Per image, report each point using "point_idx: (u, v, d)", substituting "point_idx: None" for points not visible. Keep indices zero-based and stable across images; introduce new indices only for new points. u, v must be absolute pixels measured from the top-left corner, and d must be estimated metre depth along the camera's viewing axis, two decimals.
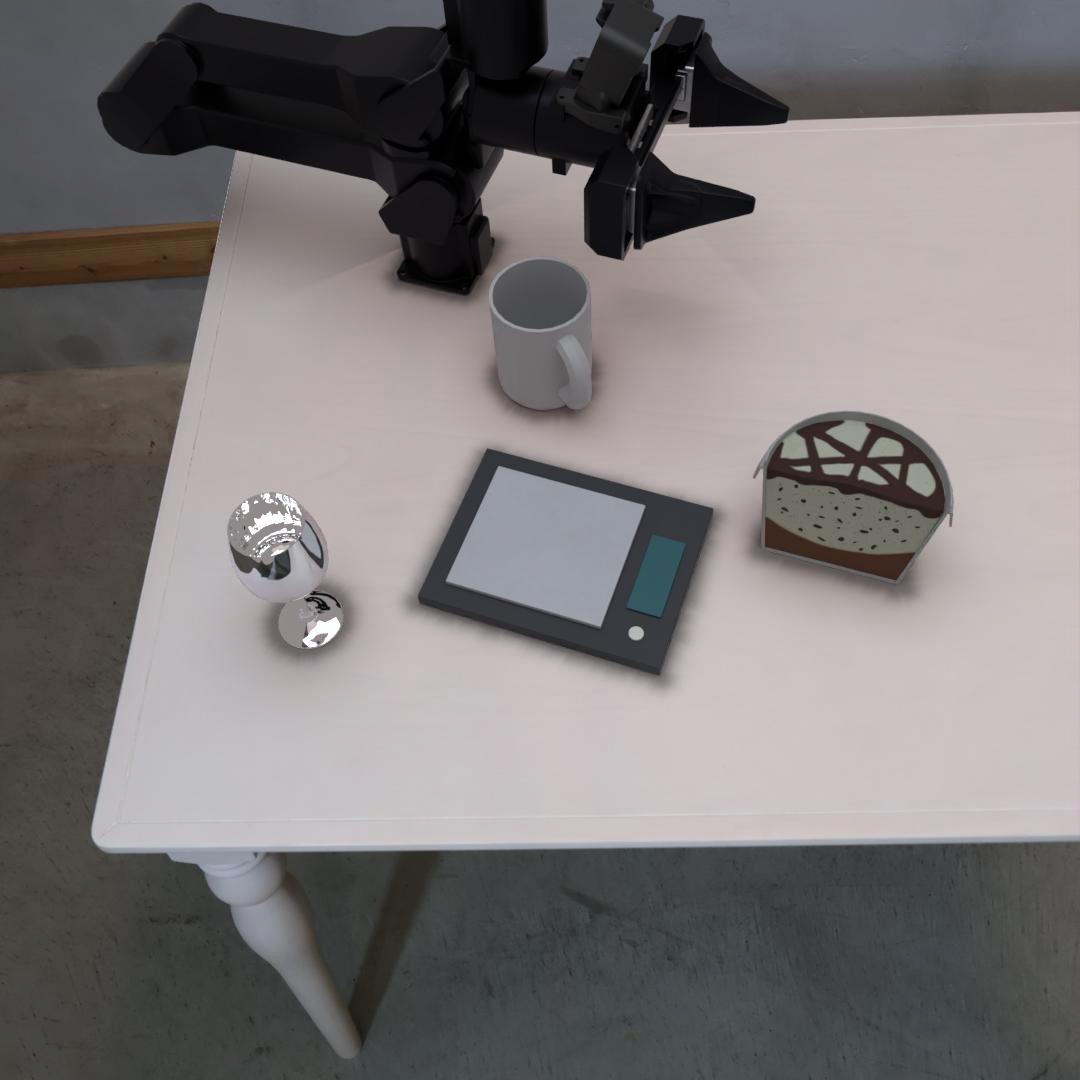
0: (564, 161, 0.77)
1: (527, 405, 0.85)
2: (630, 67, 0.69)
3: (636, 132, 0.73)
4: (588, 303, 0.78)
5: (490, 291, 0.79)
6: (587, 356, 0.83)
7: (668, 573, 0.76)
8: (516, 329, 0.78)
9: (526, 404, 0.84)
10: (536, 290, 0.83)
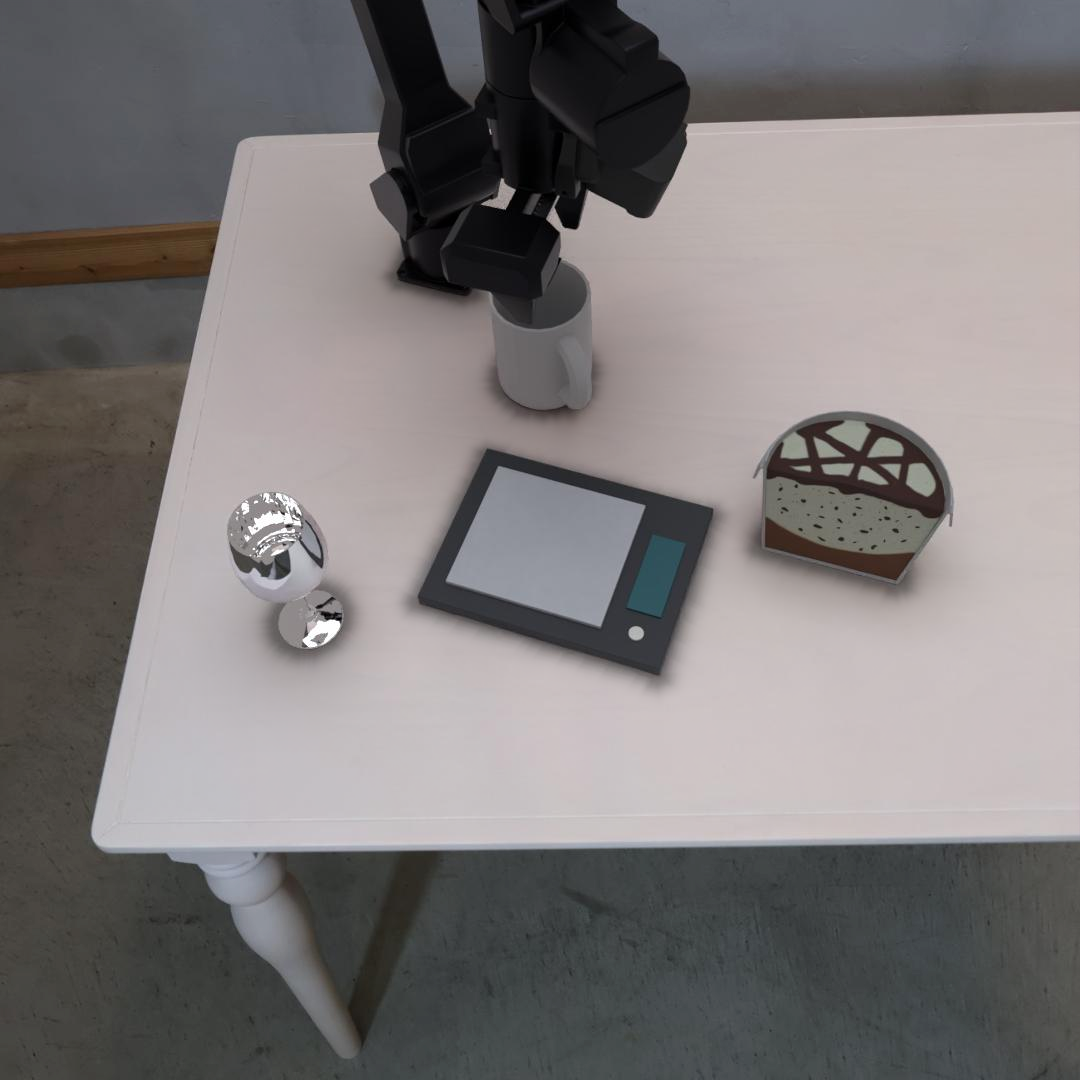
0: (495, 118, 0.63)
1: (527, 405, 0.85)
2: (634, 209, 0.65)
3: (557, 197, 0.67)
4: (588, 303, 0.78)
5: None
6: (587, 356, 0.83)
7: (668, 573, 0.76)
8: (516, 329, 0.78)
9: (526, 404, 0.84)
10: None
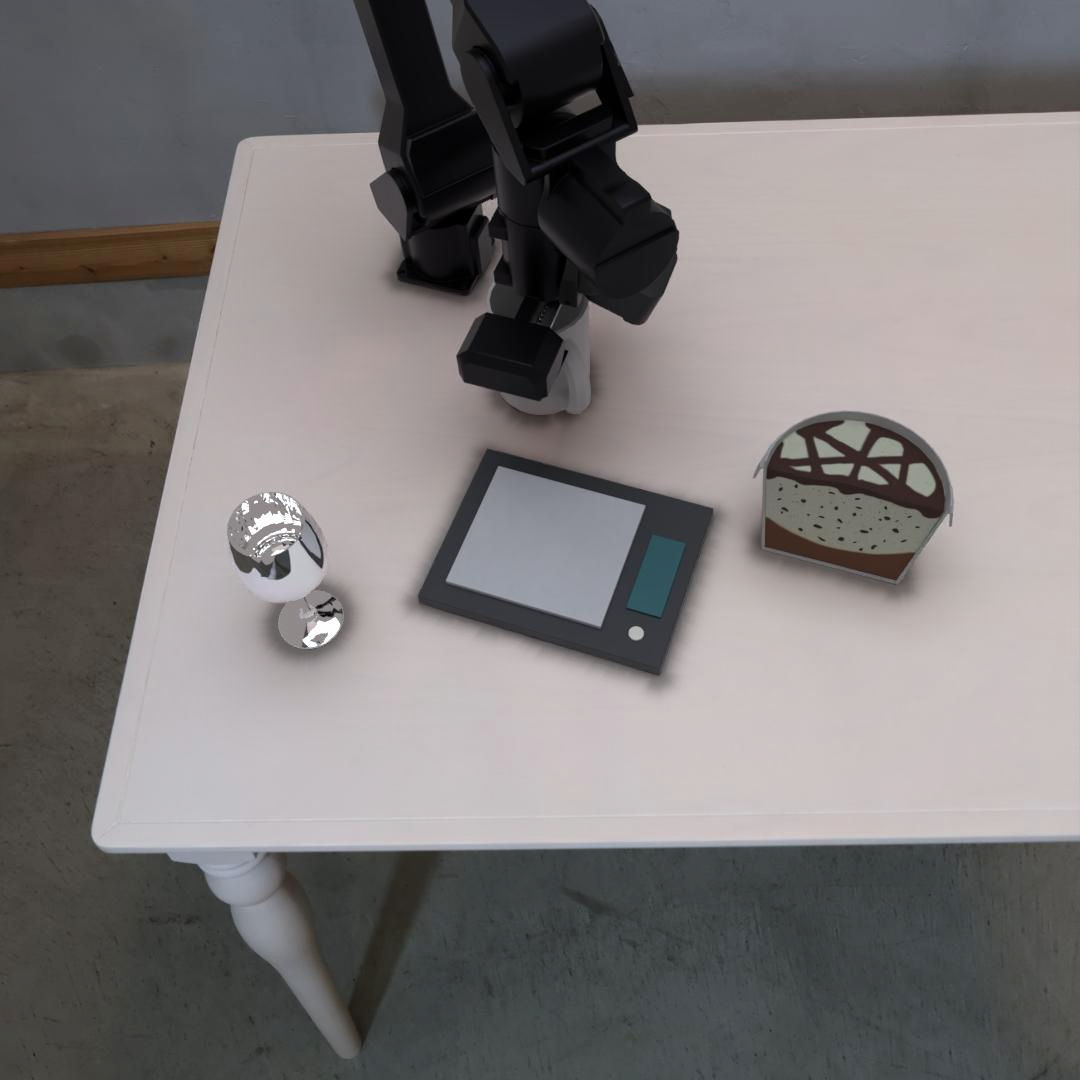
0: (506, 239, 0.71)
1: (525, 410, 0.84)
2: (630, 317, 0.73)
3: None
4: (586, 307, 0.78)
5: (487, 297, 0.79)
6: (585, 360, 0.82)
7: (668, 573, 0.76)
8: None
9: (524, 409, 0.84)
10: None
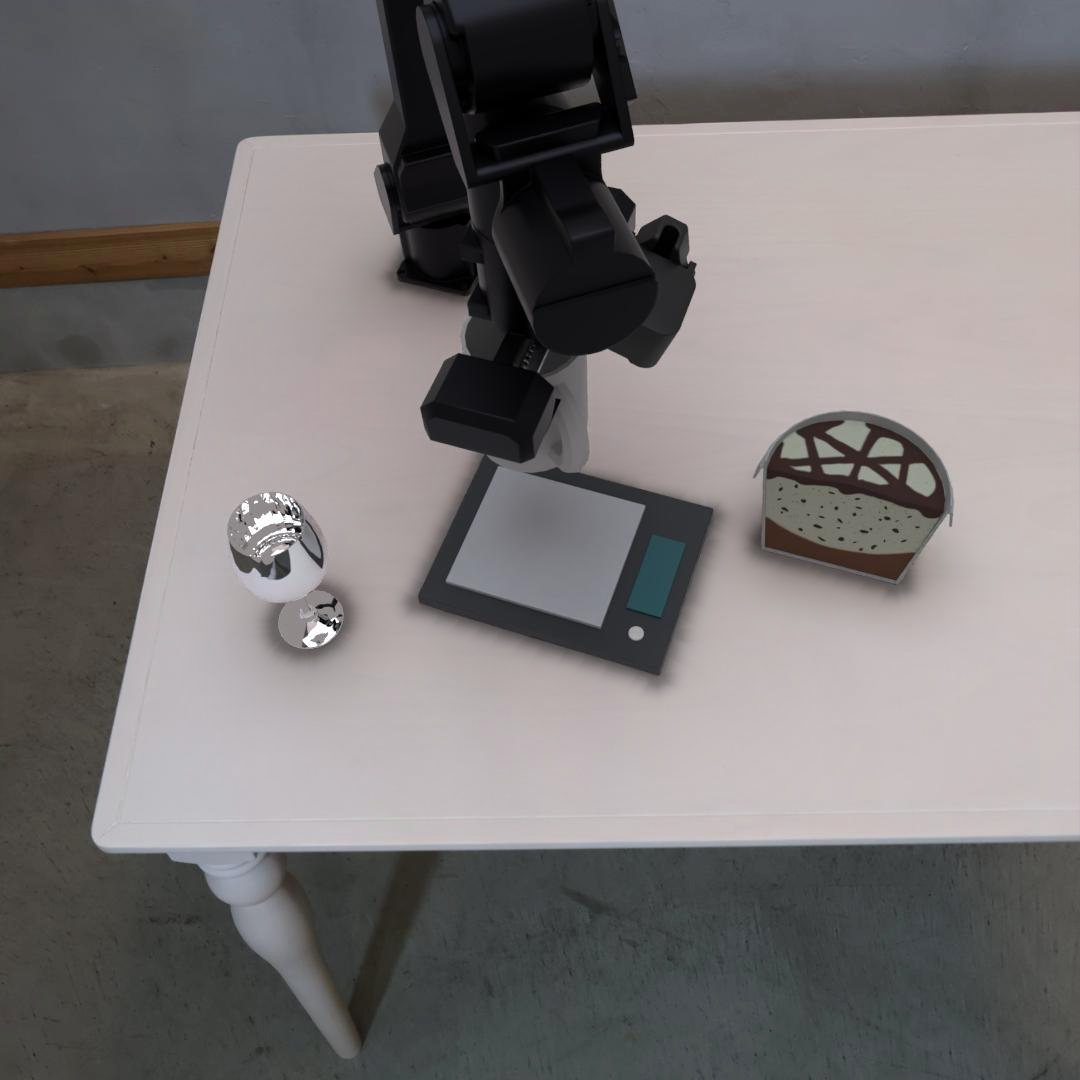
0: (482, 263, 0.57)
1: (510, 467, 0.70)
2: (637, 359, 0.59)
3: None
4: None
5: (462, 332, 0.65)
6: (582, 408, 0.68)
7: (668, 573, 0.76)
8: None
9: (509, 466, 0.70)
10: None
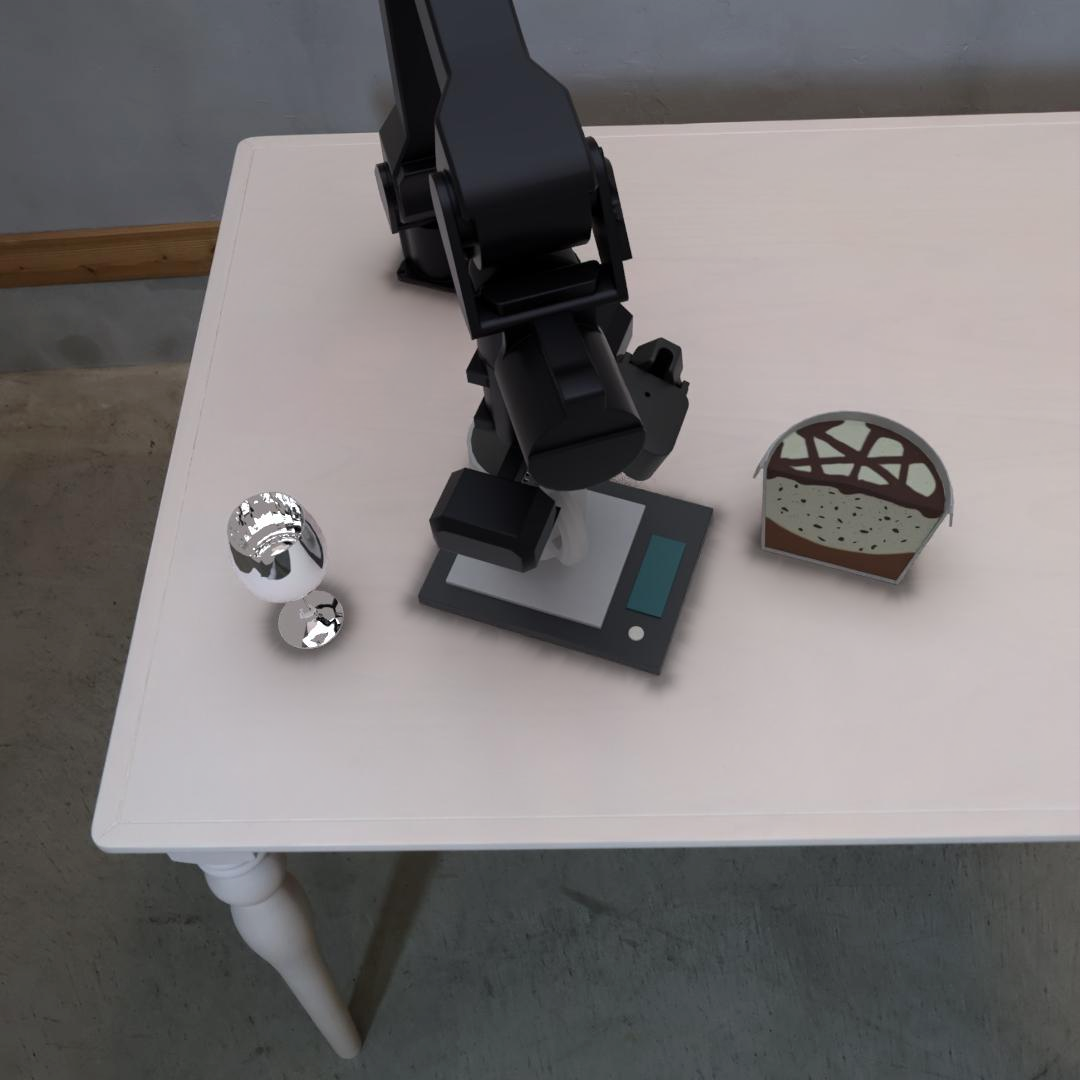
0: (488, 386, 0.60)
1: None
2: (633, 473, 0.63)
3: None
4: None
5: (468, 436, 0.68)
6: (581, 503, 0.72)
7: (668, 573, 0.76)
8: None
9: None
10: None
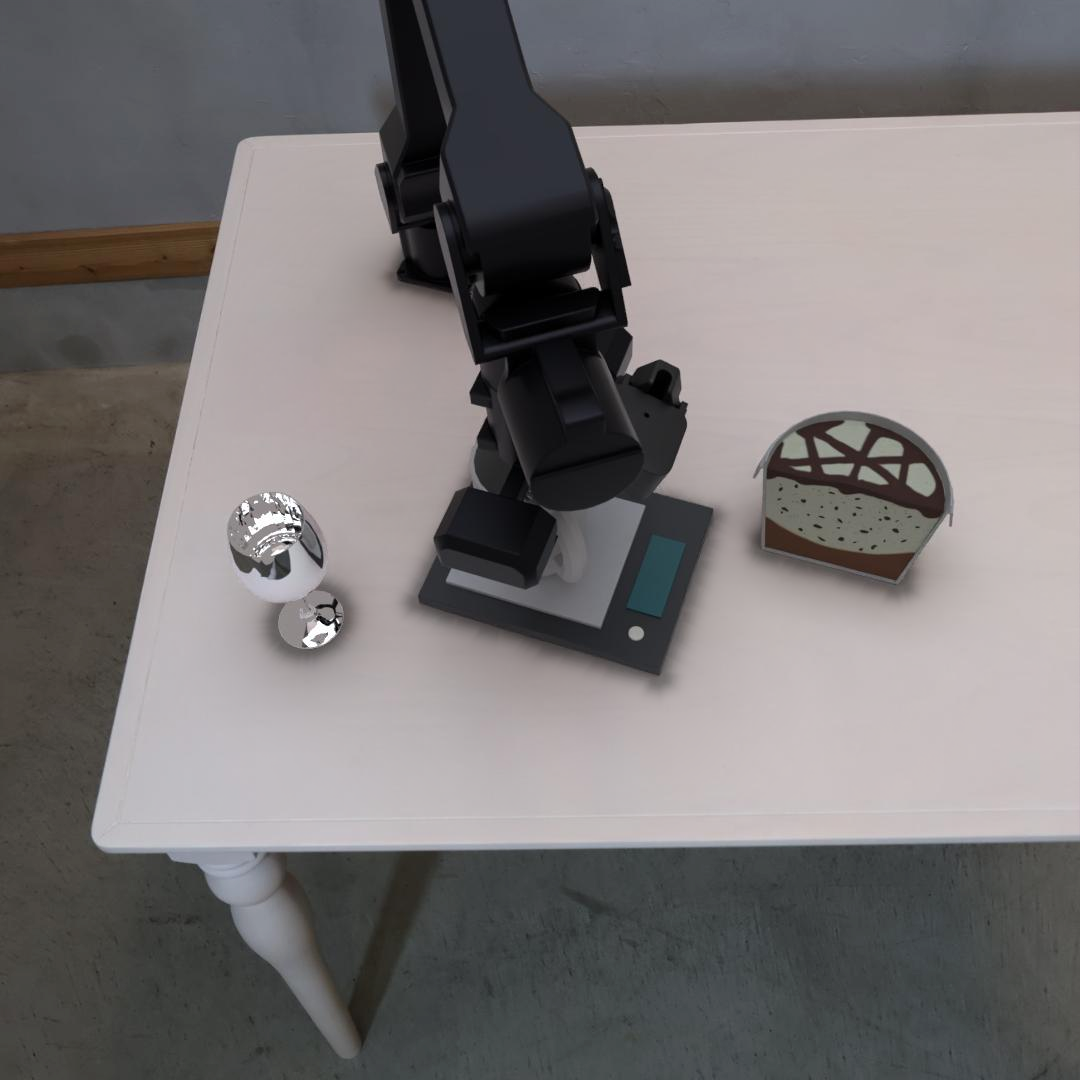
0: (491, 408, 0.62)
1: None
2: (632, 492, 0.64)
3: None
4: None
5: (471, 457, 0.70)
6: (582, 521, 0.73)
7: (668, 573, 0.76)
8: None
9: None
10: None
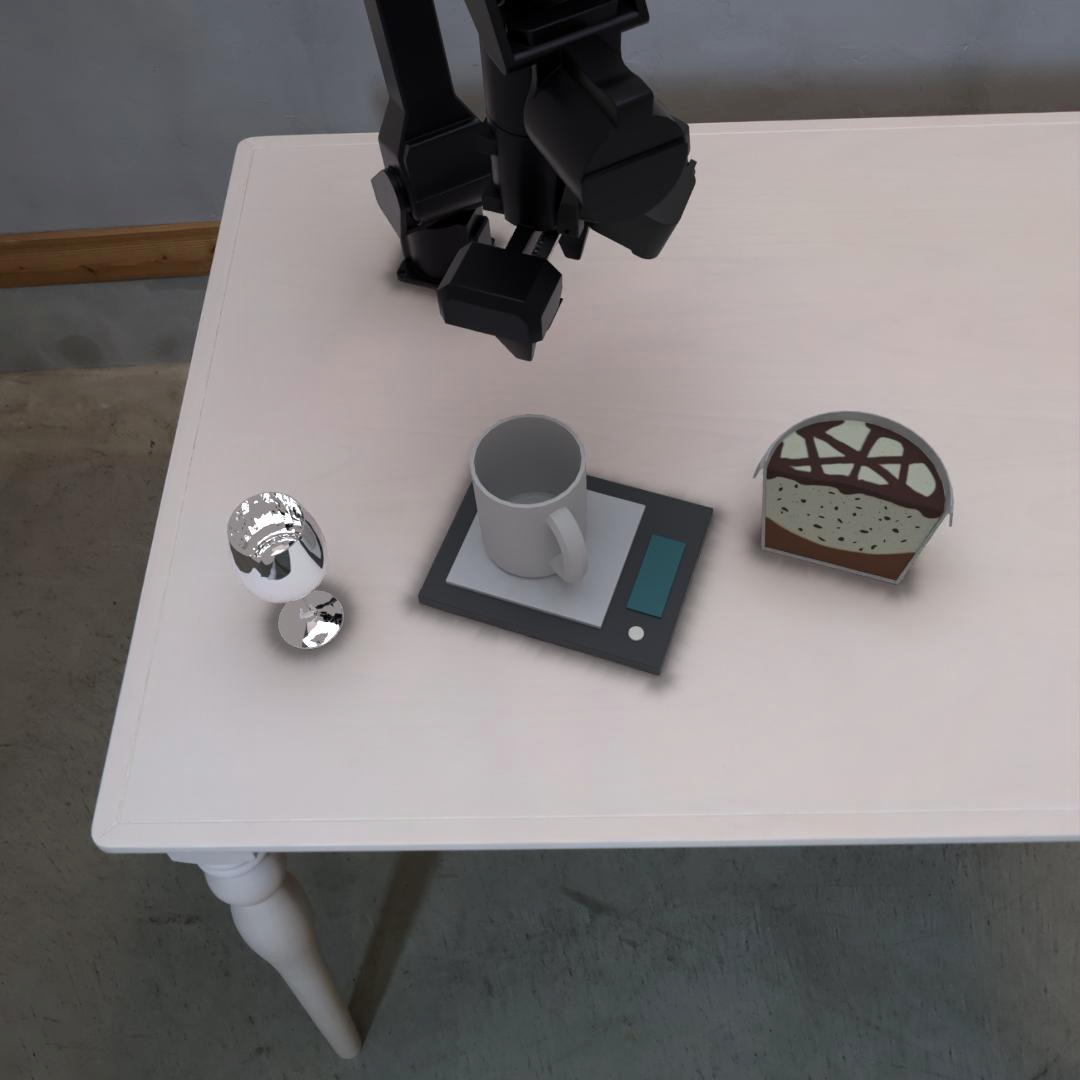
0: (496, 154, 0.61)
1: (515, 573, 0.75)
2: (639, 250, 0.63)
3: (559, 235, 0.64)
4: (583, 471, 0.69)
5: (472, 457, 0.70)
6: (582, 522, 0.73)
7: (668, 573, 0.76)
8: (502, 504, 0.68)
9: (514, 572, 0.75)
10: (523, 446, 0.74)
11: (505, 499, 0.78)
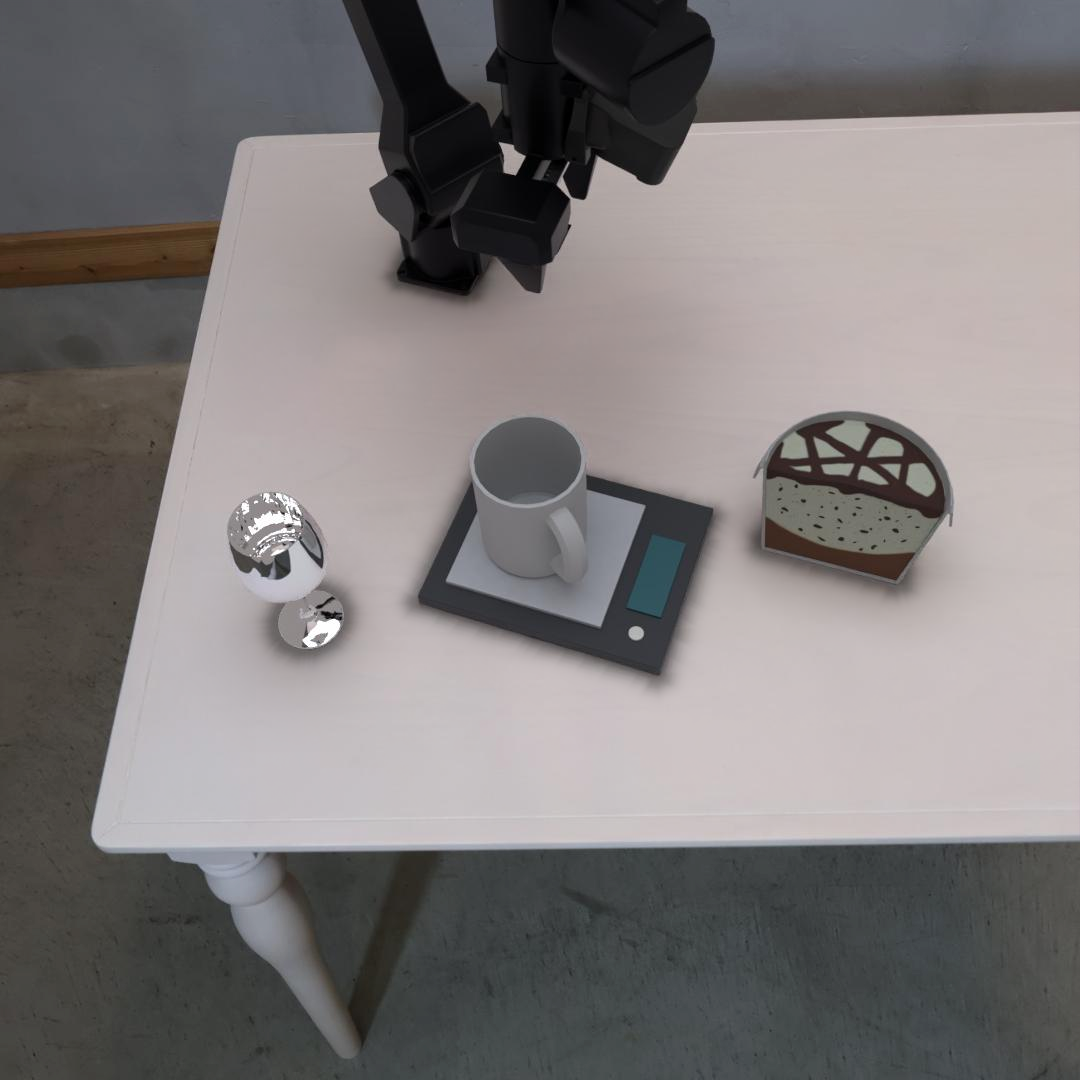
0: (506, 83, 0.64)
1: (515, 573, 0.75)
2: (644, 175, 0.66)
3: (567, 164, 0.67)
4: (583, 471, 0.69)
5: (471, 457, 0.70)
6: (582, 522, 0.73)
7: (668, 573, 0.76)
8: (501, 504, 0.68)
9: (514, 572, 0.75)
10: (523, 446, 0.74)
11: (505, 499, 0.78)
